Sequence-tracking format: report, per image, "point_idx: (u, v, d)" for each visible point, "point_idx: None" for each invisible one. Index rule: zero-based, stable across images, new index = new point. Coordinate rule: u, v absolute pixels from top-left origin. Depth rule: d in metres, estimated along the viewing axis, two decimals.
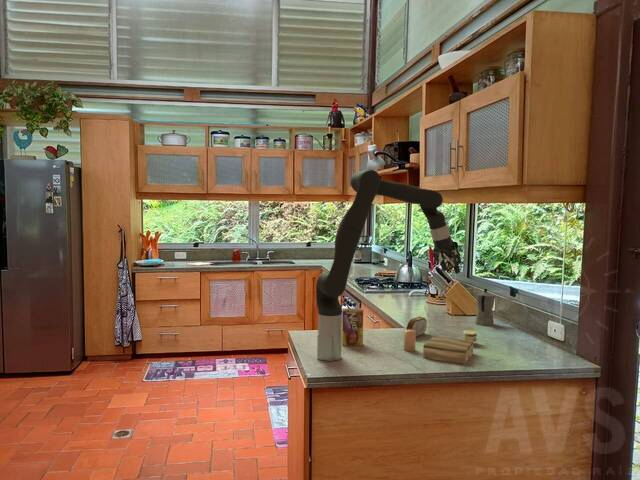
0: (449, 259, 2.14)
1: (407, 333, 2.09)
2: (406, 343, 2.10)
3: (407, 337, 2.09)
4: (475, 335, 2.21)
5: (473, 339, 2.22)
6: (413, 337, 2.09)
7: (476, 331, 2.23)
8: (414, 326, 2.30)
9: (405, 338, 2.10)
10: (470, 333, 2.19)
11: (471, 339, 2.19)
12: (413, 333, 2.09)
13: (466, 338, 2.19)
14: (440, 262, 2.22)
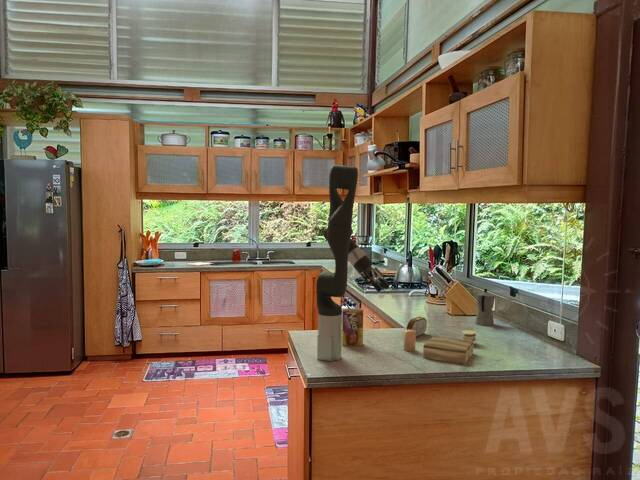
0: (379, 273, 2.20)
1: (407, 333, 2.09)
2: (406, 343, 2.10)
3: (407, 337, 2.09)
4: (474, 335, 2.21)
5: (472, 339, 2.22)
6: (413, 337, 2.09)
7: (475, 331, 2.23)
8: (414, 326, 2.30)
9: (405, 338, 2.10)
10: (469, 333, 2.19)
11: (470, 339, 2.19)
12: (413, 333, 2.09)
13: (465, 338, 2.19)
14: (375, 280, 2.12)
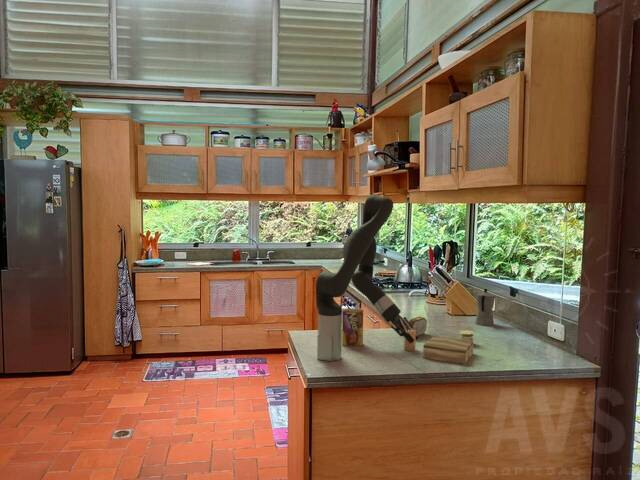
0: (408, 323, 2.14)
1: None
2: (406, 343, 2.10)
3: None
4: (471, 335, 2.21)
5: (469, 339, 2.22)
6: (413, 337, 2.09)
7: (472, 331, 2.23)
8: (414, 326, 2.30)
9: (405, 338, 2.10)
10: (467, 333, 2.19)
11: (468, 339, 2.18)
12: (413, 333, 2.09)
13: (463, 338, 2.19)
14: None
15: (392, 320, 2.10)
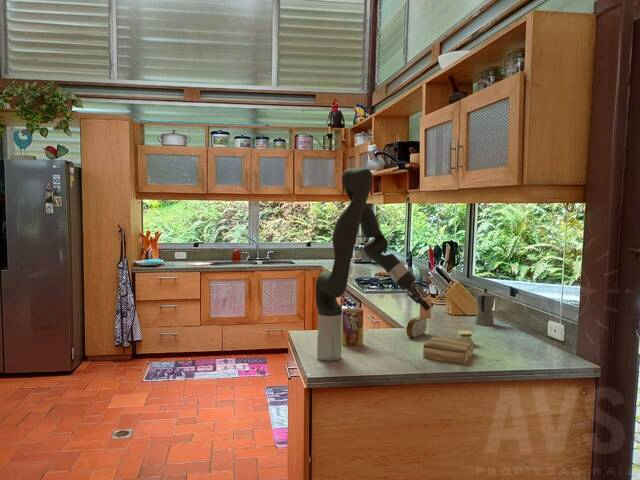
0: (423, 291, 2.11)
1: None
2: (422, 310, 2.07)
3: None
4: (470, 335, 2.21)
5: (468, 339, 2.22)
6: (429, 304, 2.06)
7: (471, 331, 2.23)
8: (414, 326, 2.30)
9: None
10: (465, 333, 2.19)
11: (466, 339, 2.18)
12: (429, 300, 2.06)
13: (461, 338, 2.19)
14: None
15: (408, 287, 2.07)
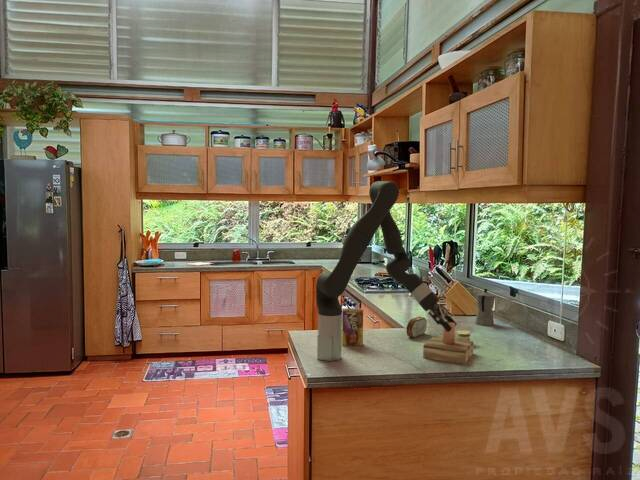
0: (446, 310, 2.07)
1: None
2: (445, 336, 2.02)
3: None
4: (468, 335, 2.21)
5: (466, 339, 2.22)
6: (453, 330, 2.02)
7: (469, 331, 2.23)
8: (414, 326, 2.30)
9: (444, 331, 2.03)
10: (464, 333, 2.19)
11: (465, 339, 2.18)
12: (453, 325, 2.02)
13: (460, 338, 2.19)
14: (444, 319, 2.00)
15: (431, 308, 2.03)
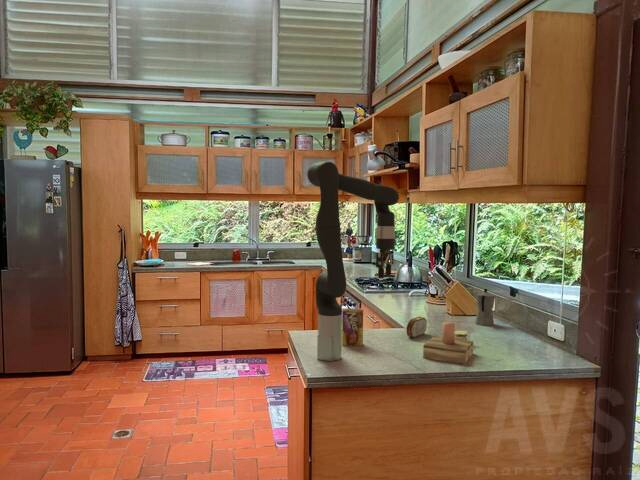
0: (391, 259, 2.13)
1: (446, 325, 2.02)
2: (445, 336, 2.02)
3: (446, 329, 2.02)
4: (465, 335, 2.21)
5: (463, 339, 2.22)
6: (452, 329, 2.02)
7: (466, 331, 2.23)
8: (414, 326, 2.30)
9: (444, 330, 2.03)
10: (461, 333, 2.19)
11: (462, 339, 2.18)
12: (452, 325, 2.02)
13: (457, 338, 2.19)
14: None
15: (381, 251, 2.07)
